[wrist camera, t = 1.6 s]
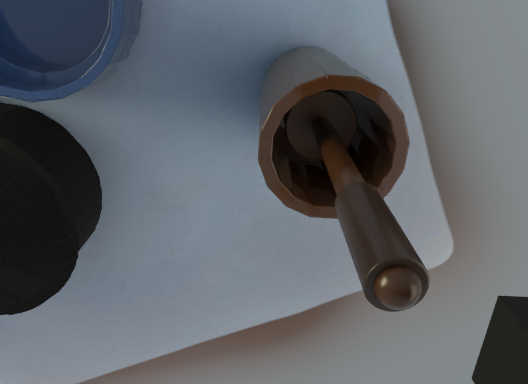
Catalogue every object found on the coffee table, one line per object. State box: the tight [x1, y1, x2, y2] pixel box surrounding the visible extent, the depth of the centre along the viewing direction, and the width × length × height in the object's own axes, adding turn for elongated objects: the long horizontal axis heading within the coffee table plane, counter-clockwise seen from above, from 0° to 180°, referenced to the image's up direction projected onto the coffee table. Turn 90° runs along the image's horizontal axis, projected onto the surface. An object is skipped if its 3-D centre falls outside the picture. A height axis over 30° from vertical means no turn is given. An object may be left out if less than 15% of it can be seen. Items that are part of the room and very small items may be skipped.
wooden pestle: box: [284, 89, 429, 312], centre depth 23 cm, size 5×5×22 cm
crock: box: [258, 47, 410, 219], centre depth 33 cm, size 9×9×17 cm
